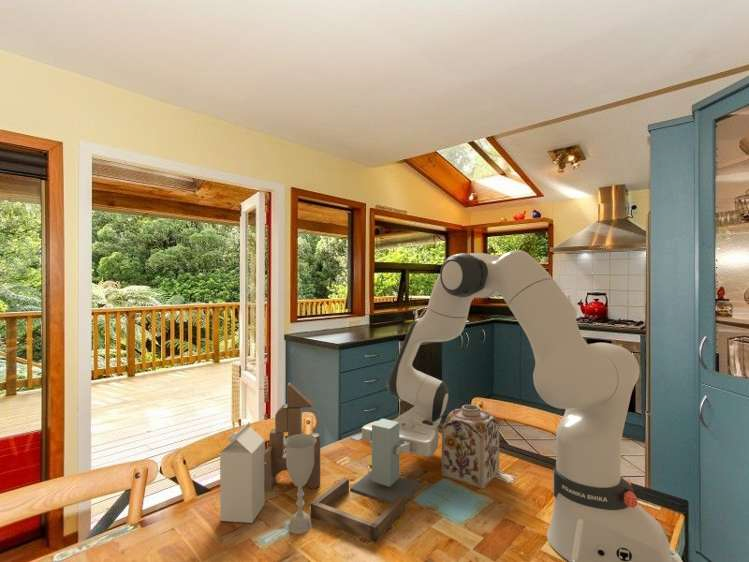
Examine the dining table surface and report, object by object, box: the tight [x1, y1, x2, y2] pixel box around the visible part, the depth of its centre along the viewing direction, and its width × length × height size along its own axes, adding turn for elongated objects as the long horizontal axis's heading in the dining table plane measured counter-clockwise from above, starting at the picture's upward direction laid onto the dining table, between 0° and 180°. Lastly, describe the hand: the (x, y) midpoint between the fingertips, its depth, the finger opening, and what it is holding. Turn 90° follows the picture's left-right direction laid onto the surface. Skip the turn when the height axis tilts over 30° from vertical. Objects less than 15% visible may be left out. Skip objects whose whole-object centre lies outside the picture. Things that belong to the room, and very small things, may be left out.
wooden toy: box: [264, 382, 321, 491], centre depth 101 cm, size 16×7×25 cm, turn 94°
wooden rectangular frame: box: [310, 477, 406, 544], centre depth 88 cm, size 16×13×3 cm
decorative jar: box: [441, 404, 500, 490], centre depth 106 cm, size 12×12×18 cm
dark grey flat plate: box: [349, 470, 422, 505], centre depth 99 cm, size 14×11×1 cm
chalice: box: [284, 433, 317, 535], centre depth 84 cm, size 7×7×18 cm
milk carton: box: [219, 422, 265, 524], centre depth 88 cm, size 7×7×19 cm
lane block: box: [371, 418, 400, 487], centre depth 99 cm, size 5×5×14 cm
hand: (384, 448), depth 98 cm, fingers closed on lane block, 5 cm apart
